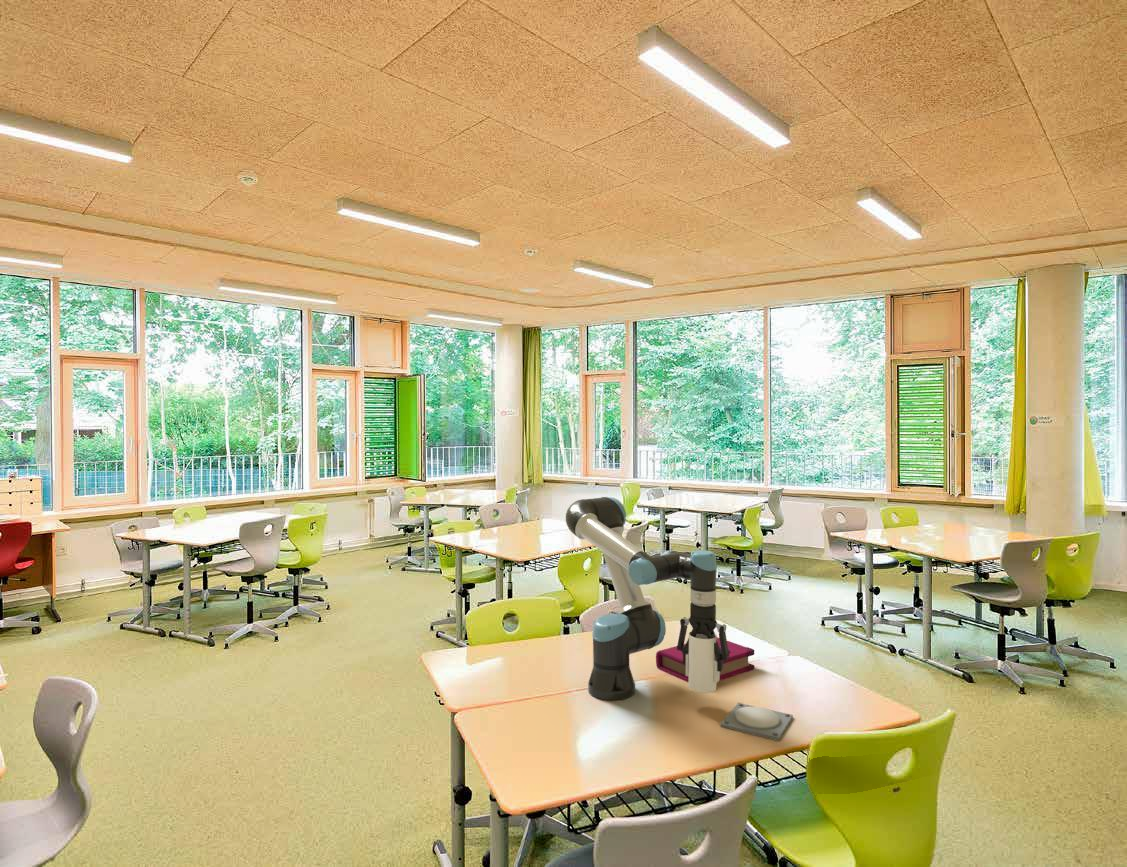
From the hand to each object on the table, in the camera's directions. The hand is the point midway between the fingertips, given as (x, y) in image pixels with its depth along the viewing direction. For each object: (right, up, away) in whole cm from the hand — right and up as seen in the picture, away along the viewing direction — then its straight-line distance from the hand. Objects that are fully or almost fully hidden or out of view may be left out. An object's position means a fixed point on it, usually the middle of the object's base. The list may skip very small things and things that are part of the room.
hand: (702, 677), depth 189 cm
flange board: (+13, -9, -10) cm, 19 cm away
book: (+8, -10, +31) cm, 34 cm away
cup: (0, -3, 0) cm, 3 cm away
